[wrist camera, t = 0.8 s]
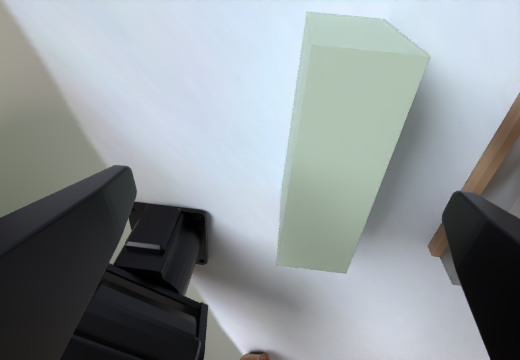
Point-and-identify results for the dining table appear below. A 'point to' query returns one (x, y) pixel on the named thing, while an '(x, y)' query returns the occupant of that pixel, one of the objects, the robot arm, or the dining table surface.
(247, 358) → the tin
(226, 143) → the dining table surface
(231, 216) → the dining table surface
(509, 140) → the bottom track
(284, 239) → the pale green block
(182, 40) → the dining table surface
